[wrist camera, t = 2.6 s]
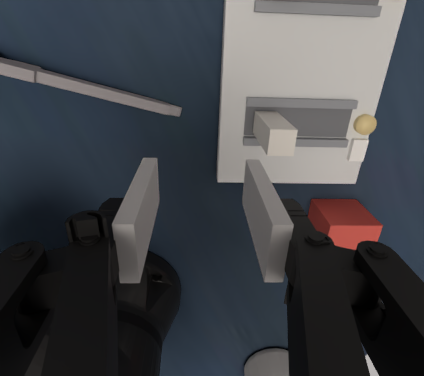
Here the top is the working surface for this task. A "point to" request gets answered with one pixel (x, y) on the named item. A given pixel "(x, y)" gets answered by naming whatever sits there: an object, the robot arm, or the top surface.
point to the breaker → (274, 133)
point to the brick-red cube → (344, 221)
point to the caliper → (83, 87)
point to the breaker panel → (303, 83)
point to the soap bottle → (268, 363)
